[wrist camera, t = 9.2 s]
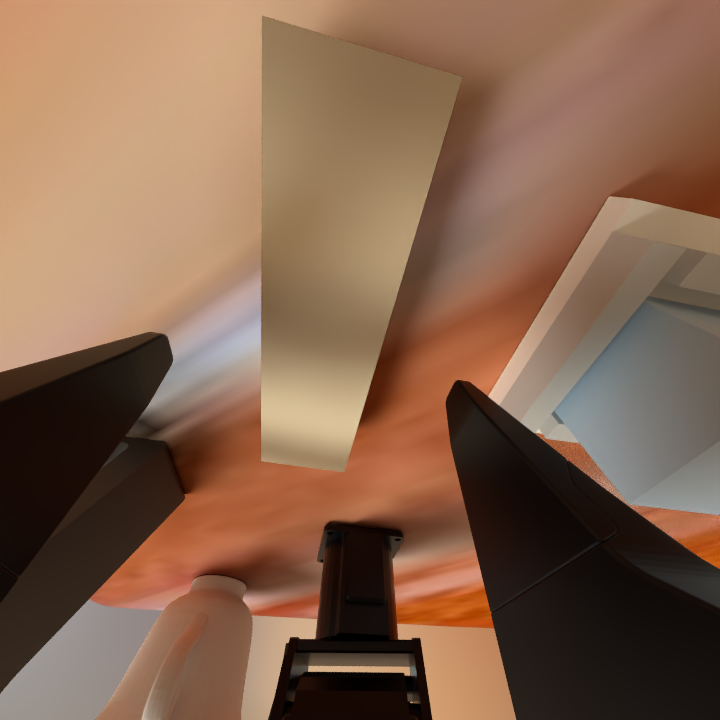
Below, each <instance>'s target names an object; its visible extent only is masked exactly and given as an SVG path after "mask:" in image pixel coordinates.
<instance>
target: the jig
mask: <svg viewBox="0 0 720 720" xmlns="http://www.w3.org/2000/svg"><path fill="white" fill-rule="evenodd" d="M648 296H650V297H655V298H660V299H665V300H670V301H675V302H680V303H685V304H690V305H695V306H700V307H705V308H710V309H715V310H720V219H719V218H714V217H710V216H706V215H702V214H697V213H693V212H689V211H684V210H680V209H676V208H672V207H667V206H663V205H659V204H654V203H650V202H646V201H642V200H637V199H632V198H622V197H612V196H609V197H608V199H607V200H606V202H605V204H604V205H603V207H602V209H601V210H600V212H599V214H598V215H597V217H596V219H595V220H594V222H593V224H592V225H591V227H590V229H589V230H588V232H587V234H586V235H585V237H584V239H583V240H582V242H581V243H580V245H579V247H578V248H577V250H576V252H575V253H574V255H573V257H572V258H571V260H570V262H569V263H568V265H567V267H566V268H565V270H564V272H563V273H562V275H561V277H560V278H559V280H558V282H557V283H556V285H555V287H554V288H553V290H552V291H551V293H550V295H549V296H548V298H547V300H546V301H545V303H544V305H543V306H542V308H541V310H540V311H539V313H538V315H537V316H536V318H535V320H534V321H533V323H532V325H531V326H530V328H529V330H528V331H527V333H526V335H525V336H524V338H523V339H522V341H521V343H520V344H519V346H518V348H517V349H516V351H515V353H514V354H513V356H512V358H511V359H510V361H509V363H508V364H507V366H506V368H505V369H504V371H503V373H502V374H501V376H500V378H499V379H498V381H497V383H496V384H495V386H494V387H493V389H492V391H491V392H490V394H489V396H488V397H489V398H491V399H492V400H493V401H494V402H496V403H497V404H498V405H499V406H501V407H502V408H503V409H504V410H506V411H507V412H508V413H509V414H511V415H512V416H513V417H514V418H516V419H517V420H518V421H519V422H521V423H522V424H523V425H524V426H526V427H527V428H528V429H529V430H531V431H532V432H533V433H541V434H543V435H544V437H545V438H546V439H552V440H559V441H567V442H574V443H579V441H578V440H577V439H576V438H575V436H574V435H573V434H572V433H571V431H570V430H569V429H568V428H567V426H566V425H565V424H564V423H563V421H562V420H561V419H560V418H559V416H558V415H557V414H556V412H555V411H554V410H555V409H556V407H557V406H558V405H559V404H560V402H561V401H562V400H563V399H564V398H565V396H566V395H567V394H568V393H569V391H570V390H571V389H572V388H573V387H574V385H575V384H576V383H577V382H578V381H579V379H580V378H581V377H582V376H583V374H584V373H585V372H586V371H587V370H588V368H589V367H590V366H591V365H592V364H593V362H594V361H595V360H596V359H597V357H598V356H599V355H600V354H601V353H602V351H603V350H604V349H605V348H606V346H607V345H608V344H609V343H610V342H611V340H612V339H613V338H614V337H615V336H616V334H617V333H618V332H619V331H620V329H621V328H622V327H623V326H624V325H625V323H626V322H627V321H628V320H629V318H630V317H631V316H632V315H633V314H634V312H635V311H636V310H637V309H638V308H639V306H640V305H641V304H642V303H643V301H644V300H645V299H646V298H647V297H648Z"/></svg>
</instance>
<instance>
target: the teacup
mask: <svg viewBox="0 0 720 720" xmlns="http://www.w3.org/2000/svg"><path fill="white" fill-rule="evenodd" d="M246 588H247V587H246V585H245V584H244V583H243V582H241V581H239V580H237V579H235V578H231V577H227V576H220V575H204V576H199V577H197V578H195V579H194V580H193V582H192V586H191V590H190V592H189V593H188V594H186V595H184V596H181V597H179V598H178V599H176V600H174V601H173V602H171V603H170V604H169V605H168V606H167V607H166V608H165V609H164V611H163V612H162V613H161V615H160V616H159V617H158V619H157V620H156V622H155V623H154V625H153V627H152V628H151V630H150V632H149V633H148V635H147V637H146V638H145V640H144V642H143V644H142V646H141V647H140V649H139V651H138V653H137V654H136V656H135V658H134V660H133V661H132V663H131V665H130V667H129V669H128V670H127V672H126V674H125V676H124V677H123V679H122V681H121V683H120V684H119V686H118V688H117V689H116V691H115V693H114V694H113V696H112V697H111V699H110V701H109V702H108V704H107V705H106V707H105V708H104V710H103V711H102V712H101V714H100V715H99V716H98V717H97V718H96V720H241V707H242V699H243V691H244V684H245V678H246V671H247V665H248V659H249V652H250V645H251V637H252V615H251V611H250V610H249V608H248V606H247V605H246V604H245V603H244V602H243V599H242V598H243V595H244V593H245V591H246Z"/></svg>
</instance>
